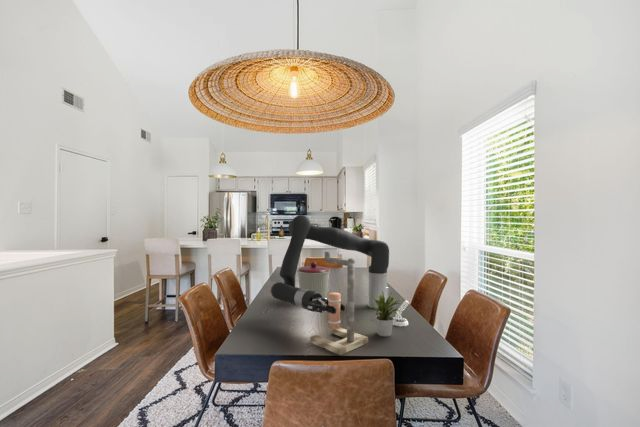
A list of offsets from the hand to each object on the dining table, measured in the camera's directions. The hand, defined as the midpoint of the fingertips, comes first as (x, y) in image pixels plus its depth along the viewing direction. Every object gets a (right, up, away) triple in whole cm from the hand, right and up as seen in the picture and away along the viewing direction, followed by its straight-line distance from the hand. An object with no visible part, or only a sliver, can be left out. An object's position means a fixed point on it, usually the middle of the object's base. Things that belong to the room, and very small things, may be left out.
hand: (339, 309), depth 113 cm
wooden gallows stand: (0, -12, 0) cm, 12 cm away
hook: (+27, -13, +21) cm, 37 cm away
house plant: (+18, -12, +8) cm, 23 cm away
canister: (-11, -13, +55) cm, 58 cm away
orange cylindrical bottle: (-2, -7, +2) cm, 8 cm away
